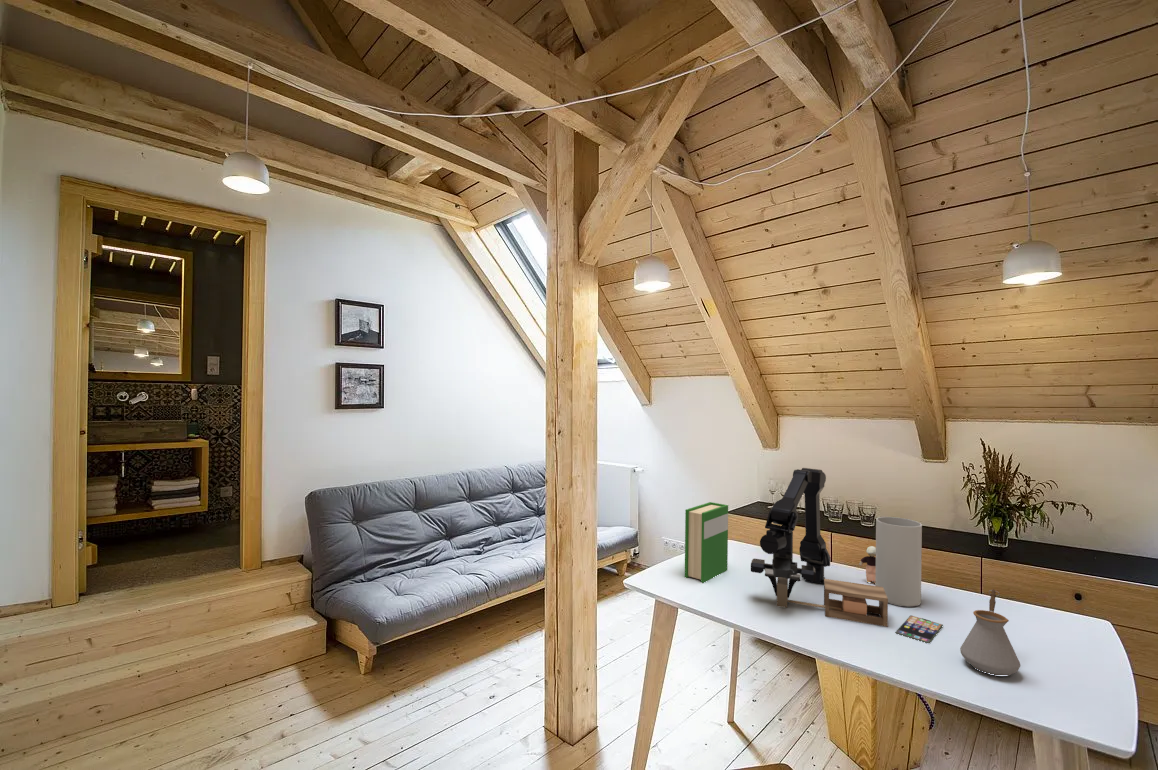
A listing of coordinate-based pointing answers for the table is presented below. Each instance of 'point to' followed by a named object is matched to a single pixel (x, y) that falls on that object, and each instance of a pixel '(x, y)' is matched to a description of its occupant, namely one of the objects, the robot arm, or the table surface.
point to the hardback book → (706, 541)
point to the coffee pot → (990, 643)
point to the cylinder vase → (899, 560)
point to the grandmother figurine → (870, 564)
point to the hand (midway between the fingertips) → (782, 596)
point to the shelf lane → (858, 592)
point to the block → (847, 605)
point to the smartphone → (919, 629)
